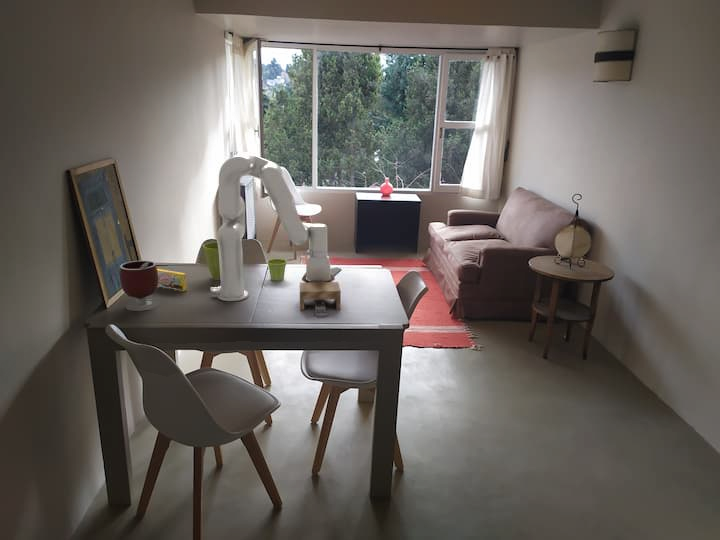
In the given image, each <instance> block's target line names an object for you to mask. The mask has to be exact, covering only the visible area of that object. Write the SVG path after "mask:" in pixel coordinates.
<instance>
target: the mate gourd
mask: <svg viewBox="0 0 720 540" xmlns="http://www.w3.org/2000/svg"><path fill="white" fill-rule="evenodd" d="M157 269H158V268H157V264H156V262H155V261H152V260H134V261H127V262H124V263H122V264H120V270H119V283H120V285H121V289H122V290H123V292H124V294H126V295H127V296H128V297H130V298H134V299H135V298H136V301H137V304H138V305H140V306H142V305H145V306H148V305H151V304H152V302H151V301H146V299H147V297H149V296H152V295H153V294H154V293H155V291H156V290H157V289H158V287H157V286H158V271H157ZM142 307H144V306H142Z"/></svg>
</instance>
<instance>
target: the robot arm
mask: <svg viewBox="0 0 720 540" xmlns="http://www.w3.org/2000/svg"><path fill="white" fill-rule="evenodd" d="M247 175H248V176H251V177H254V178H256V179H259V180H260V181H261V183H262V185H263V187H264V189H265V191H266V193H267V194H268V195H267V196H269V199H270V200H271V202H272V205H273V206H274V208H275V209H274V210H275V212H276V214H277V215H278V217H279V220H280V222H281V225H282V227H283V229H284V231H285V232H286V234H287V236H288V239H289V240H290V242H291V243H292V244H294V245H296V246H297V245H298V246H300V245H304V244H306V242H307V241H308V243H309V244H308V245H309V246H308V247H309V248H308V250H305V254H306V255H308V256H307V257H306V258H307V259H306V268H305V273H303V276H302V277H301V281H302V282H314V281H323V282H334V281H335V280H336V278H335V275H334V276H333V275H332V273H331V271H330V268H331V260H330V257H329V256H328V226H327V225H326V224H324V223H318V222H317V223H308V222H303V221H302V220H301V218H300V216H299V214H298V210H297V206H296V201H295V198H294V196H293V193H292V192H291V190H290V188H289V186H288V184H287V182H286V179H285V178H284V175H283V170H282V167H281V166H280V165H279V164H277V163H276V162H273V161H270V160H267V159H265V158H263V157H260V156H258V155H256V154H253V153H250V152H241V153H238V154H235V155H234V156H232V157H230V158H228V159H227V160H225V161H224V163H222V165H221V167H220V169H219V173H218V206H217V207H218V208H217V209H218V213H219V215H220V216H221V218H222V225H221V226H220V227H219V229H218V230H217V233H216V242H217V243H218V249H219V262H220V279H221V280H220V286H218V287H217V286H214V287H213V286H211V287H210V293H212V294H217V298H218V300H220V301H225V302H234V301H235V302H237V301H243V300H245V299H246V298H248V297H249V293H248V291H247V290H245V278H244V277H245V276H244V257H243V245H242V242H243V241H242V239H243V237H244V235H245V233H246V203H245V201H244V199H243V197H242V196H241V179H242V177H245V176H247Z"/></svg>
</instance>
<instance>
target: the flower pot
mask: <svg viewBox="0 0 720 540" xmlns="http://www.w3.org/2000/svg"><path fill="white" fill-rule="evenodd" d="M202 248H203V252H204V253H203V254H204V257H205V261H206V264H207V267H208V271H209V272H210V275H211V277H212V279H213V278H214V279H218V280H217V281H221V279H220V262H219V249H218V243H217V241H210V242H207V243H205V244H203V245H202ZM214 279H213V280H214Z"/></svg>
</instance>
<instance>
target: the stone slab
mask: <svg viewBox="0 0 720 540" xmlns="http://www.w3.org/2000/svg"><path fill="white" fill-rule="evenodd" d="M341 270H342V268H340V267H330V271H331V273H332V275H333V276H334V277H335V275H336V274H337V273H339V272H340V271H341Z"/></svg>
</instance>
